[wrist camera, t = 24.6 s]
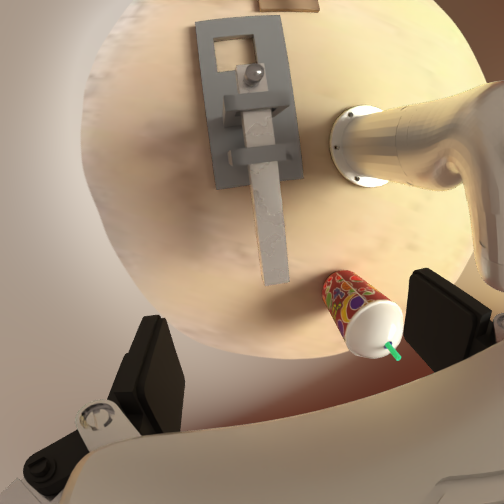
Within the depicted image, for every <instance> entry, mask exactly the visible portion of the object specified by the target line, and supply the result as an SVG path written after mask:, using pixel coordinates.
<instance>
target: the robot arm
mask: <svg viewBox="0 0 504 504" xmlns="http://www.w3.org/2000/svg"><path fill="white" fill-rule="evenodd" d="M348 114H349V116H348ZM329 143H330V152H331V156H332V159H333V162H334V164H335V166H336V168H337V169H338V171H339V172H340V173H341V174H342V175H343V176H344V177H345V178H346V179H347V180H349V181H350V182H352V183H354V184H356V185H359V186H362V187H369V188H371V187H378V186H381V185H384V184H386V183H387V182H389V181H390V182H395V183H400V184H404V185H409V186H414V187H418V188H422V189H427V190H432V191H447V190H451V189H453V188H456V187H457V186H459V185H460V184H462V183H463V184H464V189H465V194H466V199H467V201H468V207H469V213H470V220H471V228H472V237H473V247H474V255H475V261H476V266H477V269H478V272H479V274H480V276H481V278H482V279H483V280H484V281H485V282H486V283H487V284H488V285H489V286H491V287H492V288H494V289H496V290H499V291H501V292H504V81H496V82H491V83H487V84H483V85H480V86H478V87H475V88H473V89H470V90H467V91H465V92H462V93H460V94H457V95H454V96H451V97H447V98H443V99H439V100H434V101H430V102H424V103H419V104H413V105H408V106H403V107H398V108H393V109H388V110H384V111H383V110H381V109H379V108H377V107H374V106H368V105H361V106H356V107H352V108H350V109H348V110H346V111H345V112H343V113H342V114H341V115H340V116H339V117H338V118H337V120H336V121H335V123H334V125H333V127H332V130H331V133H330V141H329ZM334 146H336V149H334ZM355 177H356V179H355V180H354V178H355ZM491 313H492V310H490V309H489V308H488V307H486V306H485V305H483V304H482V303H480V302H479V301H478V300H476V299H474V298H473V297H472V296H470V295H469V294H467V293H466V292H464V291H463V290H461V289H460V288H458V287H457V286H455V285H454V284H452V283H451V282H449V281H448V280H446V279H444V278H443V277H441V276H440V275H438V274H437V273H435V272H433V271H432V270H430V269H429V268H423V269H418V270H415V271H414V272H413V274H412V275H411V276H410V279H409V290H408V300H407V309H406V317H405V324H404V331H403V334H404V337H405V340H406V341H407V342H408V343H409V344H410V345H411V347H412V348H413V349H414V350H415V351H416V352H417V353H418V354H419V356H420V357H421V358H422V359H423V360H424V361H425V362H426V363H427V365H428V366H429V367H430V368H431V369H432V370H433V371H434V373H433V374H431V375H428V376H426V377H423V378H421V379H418V380H415V381H413V382H410V383H407V384H405V385H402V386H399V387H396V388H394V389H391V390H388V391H385V392H382V393H379V394H376V395H373V396H369V397H366V398H363V399H360V400H356V401H353V402H349V403H346V404H342V405H339V406H335V407H331V408H327V409H323V410H319V411H315V412H311V413H306V414H301V415H297V416H292V417H287V418H282V419H277V420H271V421H265V422H259V423H253V424H247V425H239V426H231V427H223V428H214V429H204V430H196V431H185V432H180V428H181V418H182V407H183V398H184V388H185V379H184V374H183V371H182V368H181V365H180V362H179V359H178V357H177V353H176V350H175V347H174V344H173V341H172V337H171V334H170V330H169V327H168V324H167V321H166V319H165V318H161V317H160V316H159V315H152V316H144V317H143V318H142V321H141V323H140V326H139V328H138V331H137V333H136V335H135V338H134V340H133V342H132V345H131V347H130V350H129V353H126V354H125V356H124V358H123V360H122V362H121V365H120V368H119V370H118V372H117V375H116V378H115V380H114V383H113V386H112V388H111V391H110V393H109V396H108V398H107V400H103V399H102V400H95V401H92V402H89V403H88V404H86V405H84V406H83V407H82V408H81V409H80V410H79V411H78V413H77V415H76V418H75V424H76V427H77V430H76V431H74V432H72V433H70V434H69V435H67V436H65V437H63V438H62V439H60V440H58V441H56V442H55V443H53V444H51V445H49V446H47V447H46V448H44V449H42V450H40V451H38V452H36V453H35V454H33V455H32V456H30V457H29V459H28V460H27V461H26V463H25V465H24V468H23V474H24V478H23V479H22V480H20V479H18V478H16V479H15V480H14V481H13V482H12V483H11V484H10V485H9V486H8V487H7V488H6V489H5V490H4V491H3V492H2V493H1V494H0V504H504V313H501V314H498V315H496V316H495V317H494V319H493V322H492V321H491V320H490V316H491Z"/></svg>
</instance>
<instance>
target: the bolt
mask: <svg viewBox="0 0 504 504" xmlns="http://www.w3.org/2000/svg"><path fill="white" fill-rule="evenodd" d="M235 76H236V83H237V91H238V94H242V93H252V92H264V91H268V86H267V80H266V73H265V66H264V63H259V64H257V63H253V64H246V65H236V70H235ZM240 113H241V121H242V128H243V136H244V143H245V148H249V147H257V146H266V145H275V138H274V130H273V123H272V115H271V108H267V109H256V110H247V111H240ZM247 166H248V174H249V182H250V189H251V197H252V205H253V213H254V221H255V228H256V236H257V244H258V252H259V260H260V268H261V276H262V279H263V282H264V285H265V286H269V285H275V284H281V283H287V282H290V280H289V268H288V257H287V247H286V236H285V226H284V216H283V207H282V198H281V189H280V180H279V171H278V163H277V161H273V162H264V163H256V164H248V165H247Z"/></svg>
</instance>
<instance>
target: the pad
mask: <svg viewBox="0 0 504 504" xmlns="http://www.w3.org/2000/svg"><path fill="white" fill-rule="evenodd" d="M258 3H259V9H260V12H278V11H288V12H317V13H318V12H319V11H320V8H319V4H318V0H258Z"/></svg>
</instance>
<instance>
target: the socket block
mask: <svg viewBox="0 0 504 504" xmlns="http://www.w3.org/2000/svg"><path fill="white" fill-rule="evenodd" d="M195 25H196V35H197V44H198V53H199V62H200V70H201V78H202V87H203V95H204V103H205V111H206V118H207V126H208V133H209V141H210V148H211V155H212V162H213V169H214V176H215V183H216V190H219V189H226V188H233V187H240V186H247V185H250V182H249V174H248V166H247V165H248V164H256V163H264V162H273V161H277V163H278V171H279V180H280V181H286V180H295V179H304V176H303V167H302V157H301V149H300V140H299V132H298V124H297V117H296V109H295V102H294V95H293V88H292V82H291V75H290V69H289V63H288V57H287V51H286V45H285V39H284V34H283V28H282V23H281V18H280V15H266V16H245V17H233V18H222V19H214V20H206V21H199V22H195ZM243 38H253V44H254V50H255V57H256V63H257V64H259V63H264V66H265V73H266V80H267V86H268V91H264V92H252V93H242V94H238V91H237V83H236V76H235V70H234V71H226V72H218V73H217V65H216V57H215V49H214V41H222V40H232V39H243ZM267 108H271V115H272V123H273V130H274V138H275V145H266V146H257V147H249V148H245V143H244V136H243V128H242V121H241V113H240V111H247V110H256V109H267Z"/></svg>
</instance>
